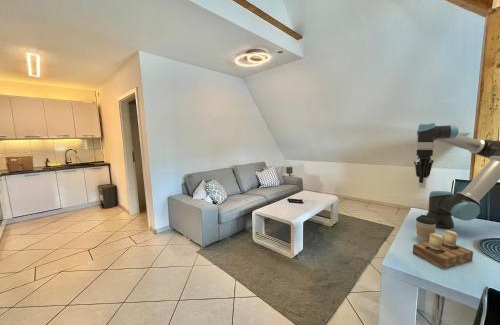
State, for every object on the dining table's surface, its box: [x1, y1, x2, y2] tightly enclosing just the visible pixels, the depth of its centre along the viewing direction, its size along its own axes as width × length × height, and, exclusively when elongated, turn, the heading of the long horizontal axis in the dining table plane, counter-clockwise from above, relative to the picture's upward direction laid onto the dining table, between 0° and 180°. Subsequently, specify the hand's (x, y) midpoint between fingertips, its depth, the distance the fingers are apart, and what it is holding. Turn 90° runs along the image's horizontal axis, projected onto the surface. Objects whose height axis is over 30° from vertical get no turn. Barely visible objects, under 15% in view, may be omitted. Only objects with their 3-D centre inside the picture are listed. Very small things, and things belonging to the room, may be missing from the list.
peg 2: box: [443, 229, 458, 250], centre depth 108 cm, size 5×5×12 cm
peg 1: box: [429, 232, 444, 254], centre depth 105 cm, size 5×5×12 cm
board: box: [412, 239, 474, 270], centre depth 107 cm, size 20×14×5 cm
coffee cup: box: [415, 214, 437, 243], centre depth 122 cm, size 9×9×15 cm
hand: (422, 187), depth 129 cm, fingers closed
